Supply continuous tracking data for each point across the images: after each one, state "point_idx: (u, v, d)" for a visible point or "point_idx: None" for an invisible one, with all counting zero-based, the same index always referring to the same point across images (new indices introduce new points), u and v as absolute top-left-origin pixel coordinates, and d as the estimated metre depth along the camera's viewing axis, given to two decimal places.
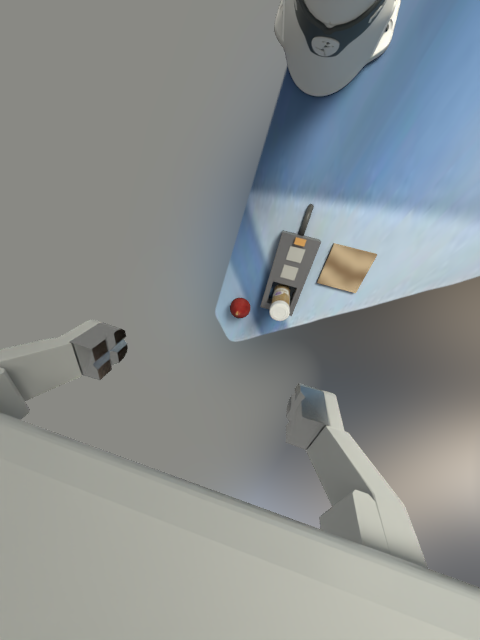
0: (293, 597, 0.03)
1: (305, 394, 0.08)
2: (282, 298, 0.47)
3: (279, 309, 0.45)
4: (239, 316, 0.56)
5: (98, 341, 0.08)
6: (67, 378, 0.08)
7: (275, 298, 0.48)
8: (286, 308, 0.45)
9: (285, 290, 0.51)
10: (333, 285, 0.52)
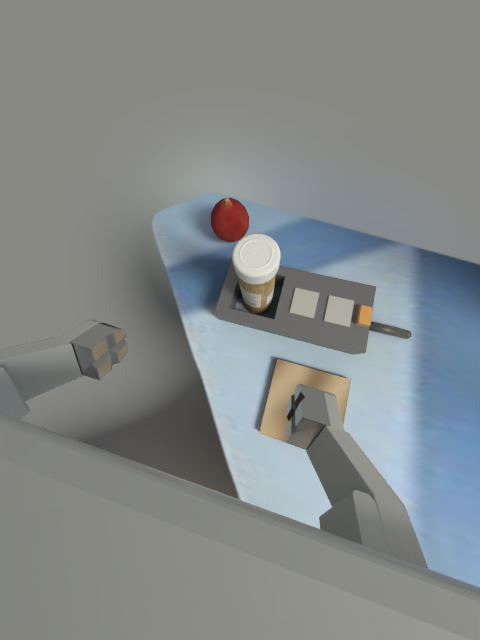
0: (293, 597, 0.03)
1: (305, 394, 0.08)
2: (275, 274, 0.22)
3: (265, 253, 0.18)
4: (218, 209, 0.28)
5: (98, 341, 0.08)
6: (67, 378, 0.08)
7: None
8: (268, 268, 0.18)
9: (272, 294, 0.26)
10: (273, 388, 0.28)
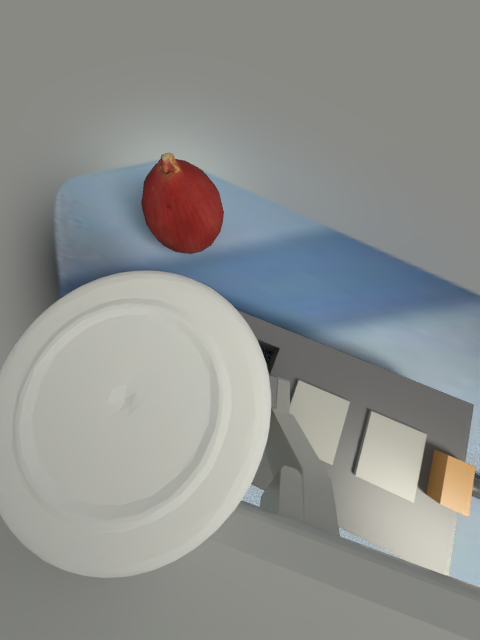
0: (293, 597, 0.03)
1: None
2: None
3: (177, 408, 0.03)
4: (151, 179, 0.12)
5: None
6: None
7: None
8: (177, 534, 0.03)
9: None
10: None
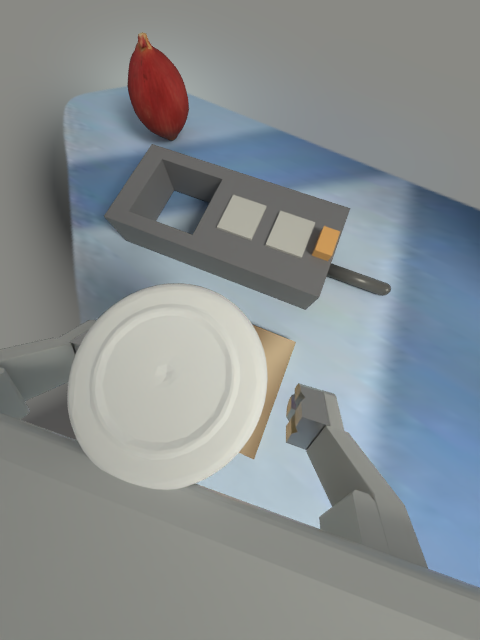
0: (293, 597, 0.03)
1: (305, 394, 0.08)
2: None
3: (203, 379, 0.04)
4: (132, 57, 0.18)
5: None
6: (67, 377, 0.08)
7: None
8: (204, 461, 0.04)
9: None
10: None
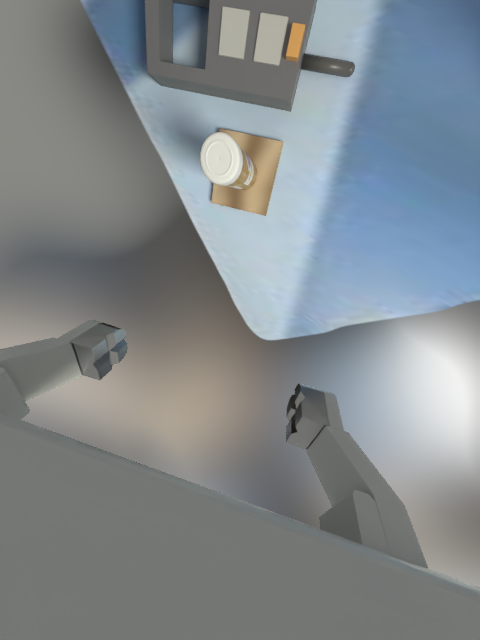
0: (293, 597, 0.03)
1: (305, 394, 0.08)
2: (243, 167, 0.24)
3: (226, 158, 0.21)
4: None
5: (98, 341, 0.08)
6: (67, 378, 0.08)
7: (241, 151, 0.24)
8: (230, 175, 0.22)
9: (251, 176, 0.29)
10: None
